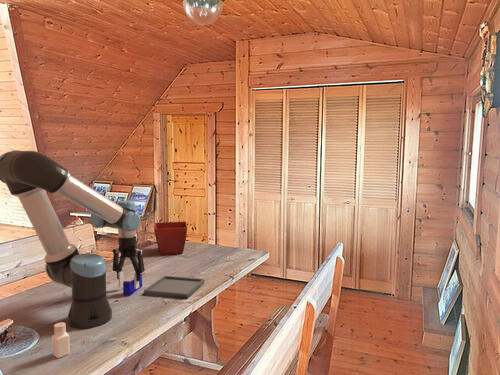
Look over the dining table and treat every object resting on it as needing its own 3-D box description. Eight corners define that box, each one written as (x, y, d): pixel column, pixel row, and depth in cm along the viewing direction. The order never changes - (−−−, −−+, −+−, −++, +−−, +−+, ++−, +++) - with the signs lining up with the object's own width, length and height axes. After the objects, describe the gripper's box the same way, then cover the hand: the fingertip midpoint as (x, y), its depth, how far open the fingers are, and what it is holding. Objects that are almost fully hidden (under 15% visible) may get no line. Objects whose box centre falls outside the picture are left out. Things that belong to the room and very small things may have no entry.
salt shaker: (57, 359, 118) (55, 328, 117) (51, 354, 121) (50, 324, 120) (70, 354, 121) (69, 324, 120) (65, 349, 124) (63, 320, 123)
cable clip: (133, 286, 181) (132, 273, 181) (142, 286, 181) (141, 273, 180) (120, 295, 170) (119, 282, 169) (130, 296, 169) (129, 282, 168)
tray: (187, 298, 165) (187, 294, 165) (144, 294, 170) (144, 290, 170) (204, 283, 185) (204, 279, 185) (164, 279, 189) (164, 275, 189)
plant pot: (154, 257, 229) (153, 228, 228) (155, 249, 248) (154, 222, 246) (187, 255, 233) (187, 227, 231) (186, 247, 252) (186, 221, 250)
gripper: (152, 235, 174) (153, 286, 176) (112, 233, 179) (113, 282, 181) (143, 239, 167) (145, 292, 169) (102, 236, 172) (104, 288, 174)
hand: (129, 287), depth 175 cm, fingers open, 7 cm apart
